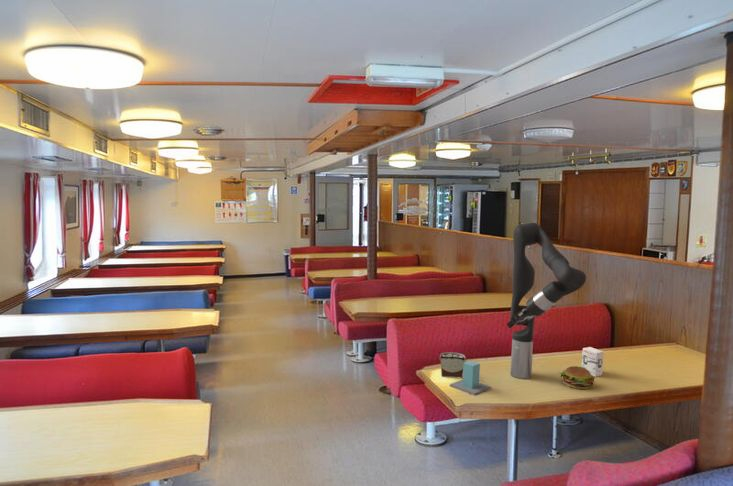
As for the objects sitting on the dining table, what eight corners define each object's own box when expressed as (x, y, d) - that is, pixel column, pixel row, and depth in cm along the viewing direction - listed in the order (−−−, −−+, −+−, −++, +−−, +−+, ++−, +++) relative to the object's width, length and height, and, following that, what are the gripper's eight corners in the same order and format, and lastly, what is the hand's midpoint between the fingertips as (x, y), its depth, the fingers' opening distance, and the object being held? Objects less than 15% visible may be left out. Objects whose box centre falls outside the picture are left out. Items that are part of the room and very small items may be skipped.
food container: (464, 373, 239) (465, 352, 238) (465, 377, 233) (466, 356, 232) (437, 371, 240) (438, 351, 239) (438, 376, 234) (439, 355, 233)
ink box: (580, 371, 246) (582, 347, 245) (587, 369, 248) (589, 346, 247) (595, 377, 238) (596, 352, 237) (602, 375, 241) (604, 351, 239)
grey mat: (466, 379, 230) (466, 378, 230) (490, 388, 221) (490, 386, 221) (449, 386, 222) (449, 384, 222) (474, 395, 213) (474, 393, 213)
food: (574, 377, 238) (575, 360, 237) (599, 387, 225) (601, 370, 225) (552, 381, 232) (553, 364, 231) (578, 392, 219) (579, 374, 218)
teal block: (469, 382, 225) (470, 360, 224) (478, 385, 221) (479, 363, 220) (462, 385, 221) (463, 363, 221) (472, 388, 218) (473, 366, 217)
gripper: (544, 292, 207) (517, 314, 216) (526, 296, 197) (499, 319, 207) (556, 307, 203) (528, 329, 213) (537, 312, 194) (509, 335, 203)
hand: (513, 324), depth 210 cm, fingers open, 8 cm apart
